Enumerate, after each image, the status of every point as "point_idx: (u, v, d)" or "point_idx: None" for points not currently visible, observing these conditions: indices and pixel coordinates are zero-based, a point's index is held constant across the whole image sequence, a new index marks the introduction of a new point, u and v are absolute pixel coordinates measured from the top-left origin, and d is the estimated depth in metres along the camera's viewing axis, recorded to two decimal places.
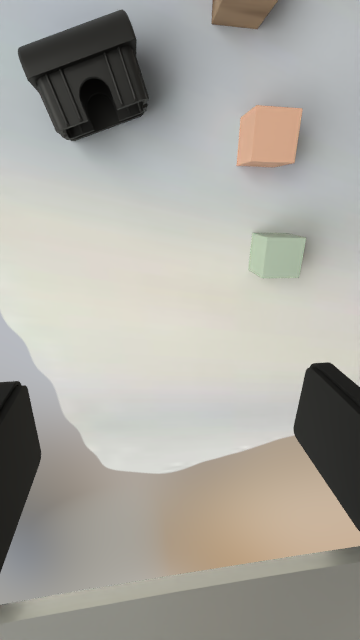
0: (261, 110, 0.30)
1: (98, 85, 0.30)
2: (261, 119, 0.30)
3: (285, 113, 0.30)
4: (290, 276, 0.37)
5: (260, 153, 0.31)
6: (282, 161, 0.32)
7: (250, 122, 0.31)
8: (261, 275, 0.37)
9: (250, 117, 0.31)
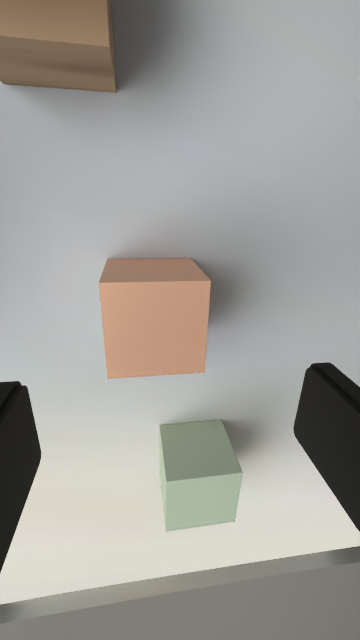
0: (113, 291, 0.13)
1: None
2: (116, 307, 0.13)
3: (172, 292, 0.13)
4: (218, 522, 0.21)
5: (126, 364, 0.14)
6: (178, 372, 0.15)
7: None
8: (165, 524, 0.20)
9: None
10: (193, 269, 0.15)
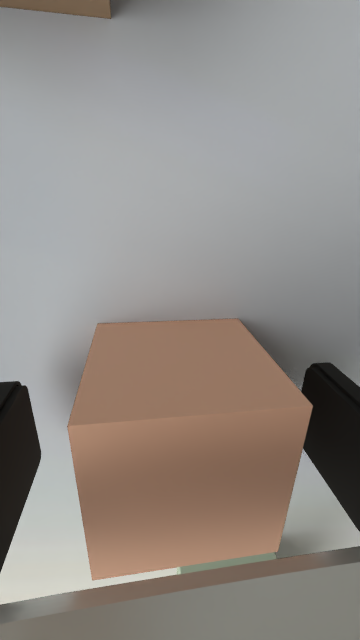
0: (100, 440, 0.06)
1: None
2: (107, 468, 0.06)
3: (230, 433, 0.06)
4: None
5: (129, 555, 0.07)
6: (229, 556, 0.08)
7: None
8: None
9: None
10: (256, 357, 0.08)
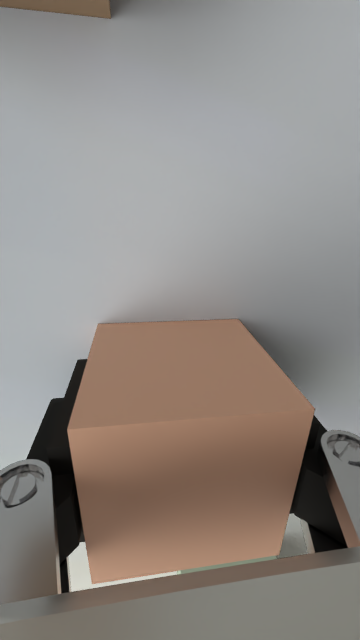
0: (100, 443, 0.06)
1: None
2: (107, 472, 0.06)
3: (231, 436, 0.06)
4: None
5: (129, 558, 0.07)
6: (230, 560, 0.08)
7: None
8: None
9: None
10: (257, 359, 0.08)
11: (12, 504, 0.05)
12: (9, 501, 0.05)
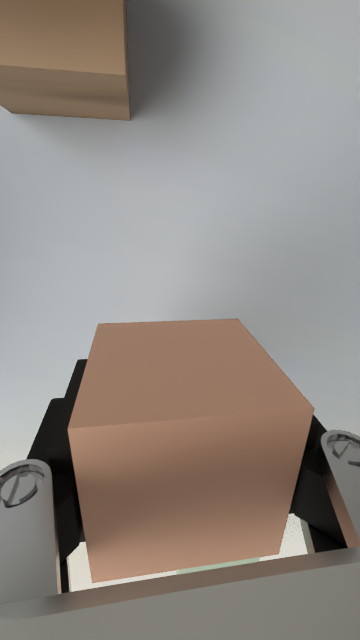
0: (100, 442, 0.06)
1: None
2: (107, 471, 0.06)
3: (230, 435, 0.06)
4: None
5: (129, 557, 0.07)
6: (229, 559, 0.08)
7: None
8: None
9: None
10: (257, 359, 0.08)
11: (12, 504, 0.05)
12: (9, 501, 0.05)
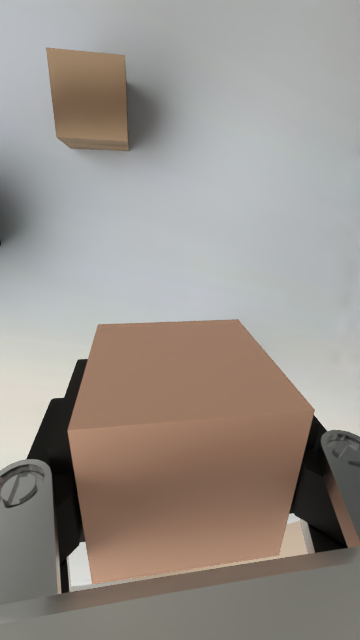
0: (100, 444, 0.06)
1: None
2: (108, 472, 0.06)
3: (231, 437, 0.06)
4: None
5: (129, 559, 0.07)
6: (230, 560, 0.08)
7: None
8: None
9: None
10: (257, 360, 0.08)
11: (12, 504, 0.05)
12: (9, 501, 0.05)
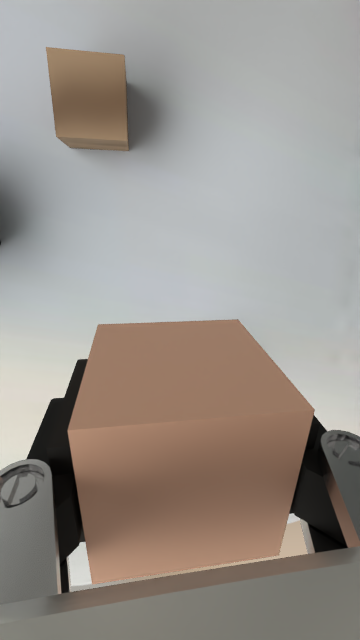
0: (100, 444, 0.06)
1: None
2: (107, 472, 0.06)
3: (231, 436, 0.06)
4: None
5: (129, 559, 0.07)
6: (230, 560, 0.08)
7: None
8: None
9: None
10: (257, 360, 0.08)
11: (12, 504, 0.05)
12: (9, 501, 0.05)
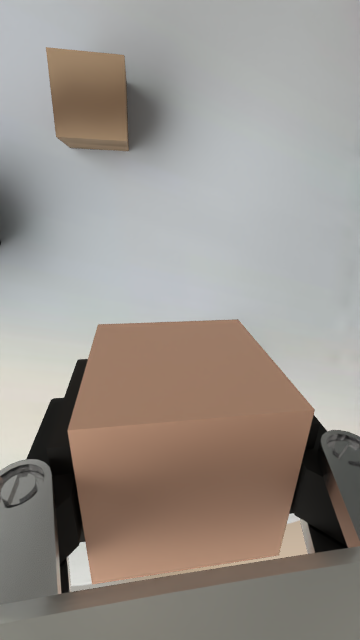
0: (100, 444, 0.06)
1: None
2: (107, 472, 0.06)
3: (231, 436, 0.06)
4: None
5: (129, 559, 0.07)
6: (230, 560, 0.08)
7: None
8: None
9: None
10: (257, 360, 0.08)
11: (12, 504, 0.05)
12: (9, 501, 0.05)
